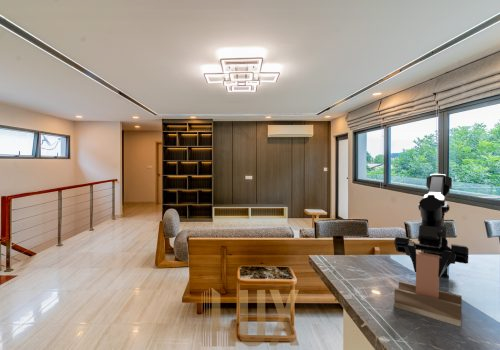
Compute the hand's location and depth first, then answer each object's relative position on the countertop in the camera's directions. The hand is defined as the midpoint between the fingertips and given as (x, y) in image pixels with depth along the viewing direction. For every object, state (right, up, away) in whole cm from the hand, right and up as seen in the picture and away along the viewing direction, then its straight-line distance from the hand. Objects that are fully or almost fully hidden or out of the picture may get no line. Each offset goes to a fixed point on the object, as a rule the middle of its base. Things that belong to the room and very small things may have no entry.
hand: (426, 274), depth 78 cm
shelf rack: (+1, -11, +1) cm, 11 cm away
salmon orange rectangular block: (+1, -7, +1) cm, 7 cm away
